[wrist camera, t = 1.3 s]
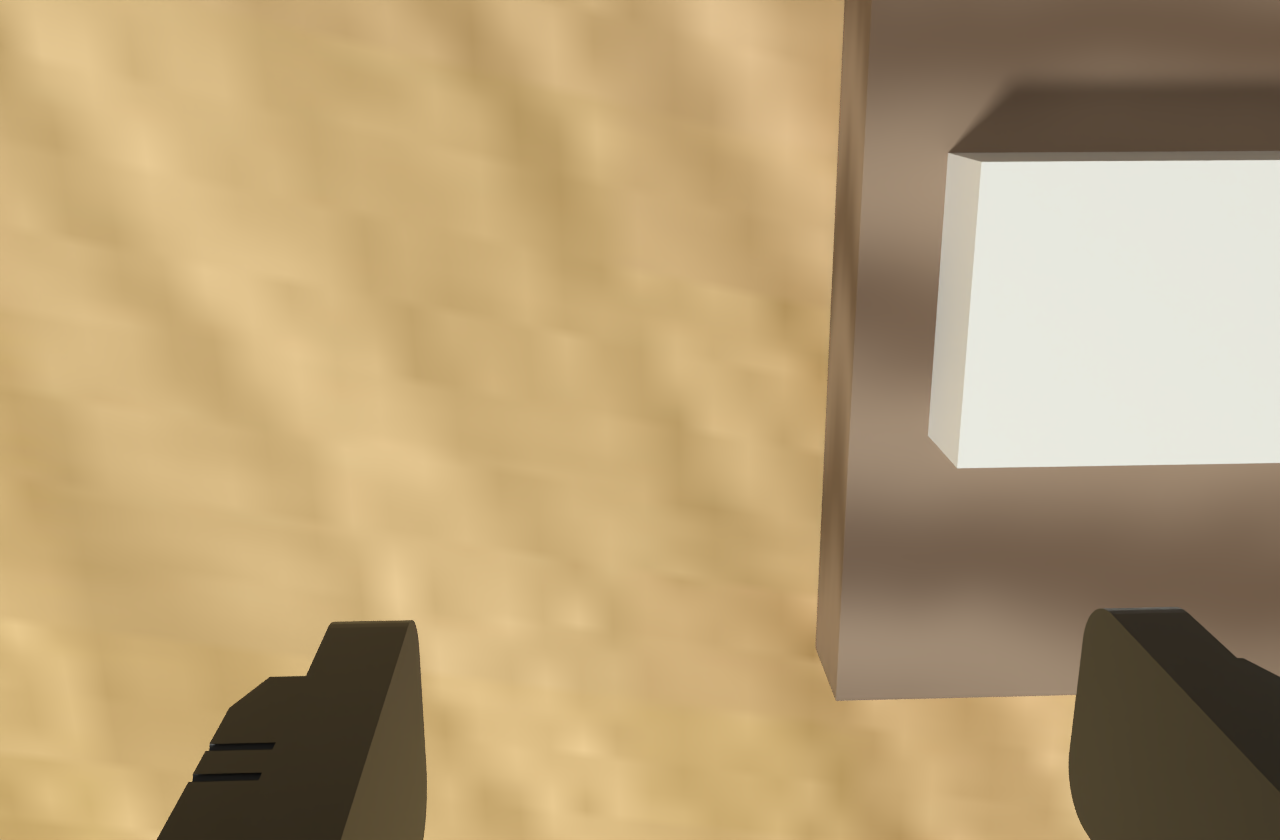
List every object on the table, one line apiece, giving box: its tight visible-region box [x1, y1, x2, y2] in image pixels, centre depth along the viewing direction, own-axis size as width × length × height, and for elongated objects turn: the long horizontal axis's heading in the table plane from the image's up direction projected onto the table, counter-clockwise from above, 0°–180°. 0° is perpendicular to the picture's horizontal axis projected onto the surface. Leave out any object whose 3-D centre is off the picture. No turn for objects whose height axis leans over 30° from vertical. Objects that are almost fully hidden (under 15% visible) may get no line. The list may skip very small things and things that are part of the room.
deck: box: [816, 0, 1280, 701], centre depth 31 cm, size 22×14×3 cm, turn 0°
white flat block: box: [928, 151, 1280, 468], centre depth 28 cm, size 7×11×2 cm, turn 90°
